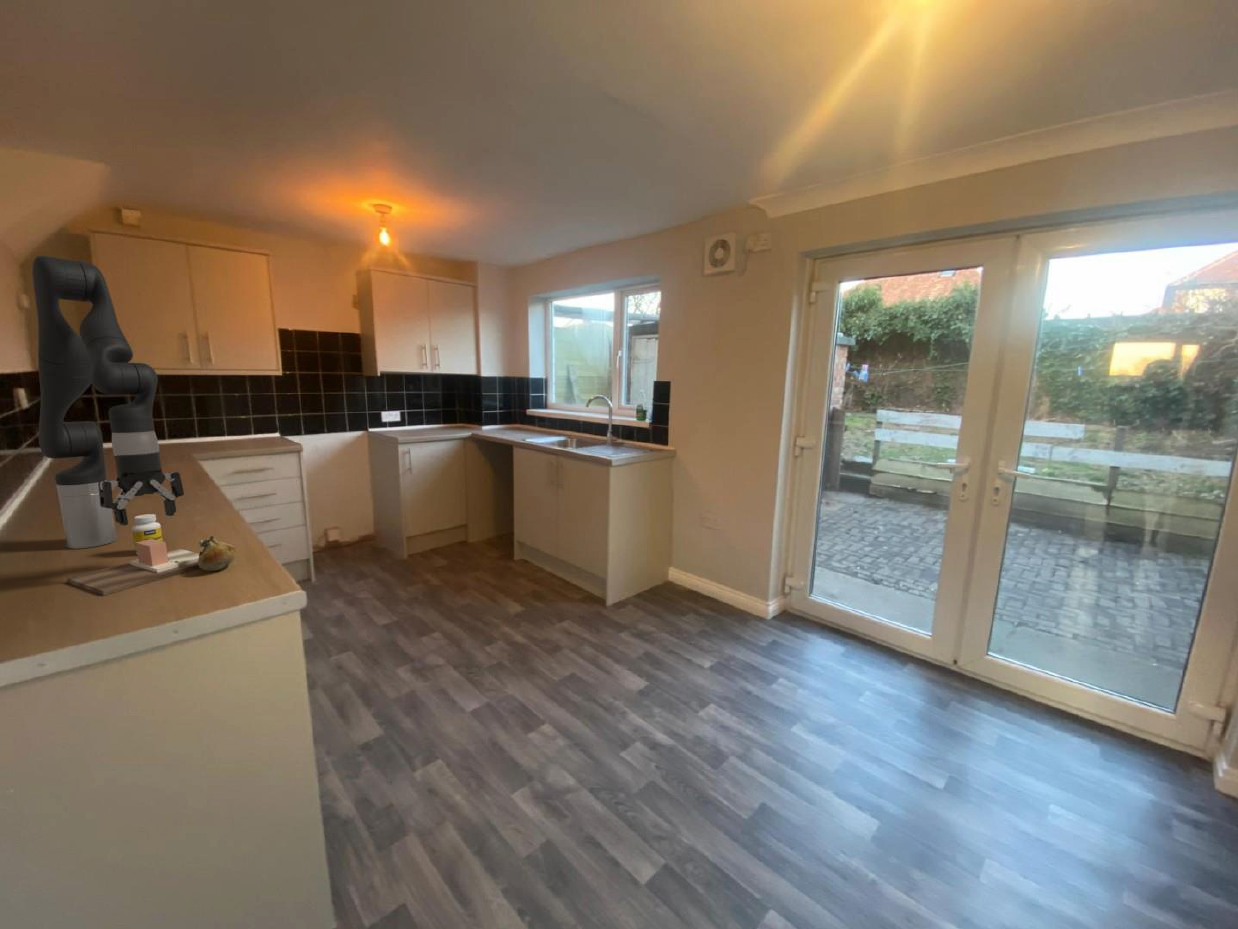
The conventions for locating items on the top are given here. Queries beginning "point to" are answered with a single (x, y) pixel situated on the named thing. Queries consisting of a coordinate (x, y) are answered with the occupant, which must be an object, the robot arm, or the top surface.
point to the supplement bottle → (146, 529)
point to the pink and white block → (153, 556)
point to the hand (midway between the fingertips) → (147, 520)
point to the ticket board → (133, 574)
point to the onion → (215, 554)
